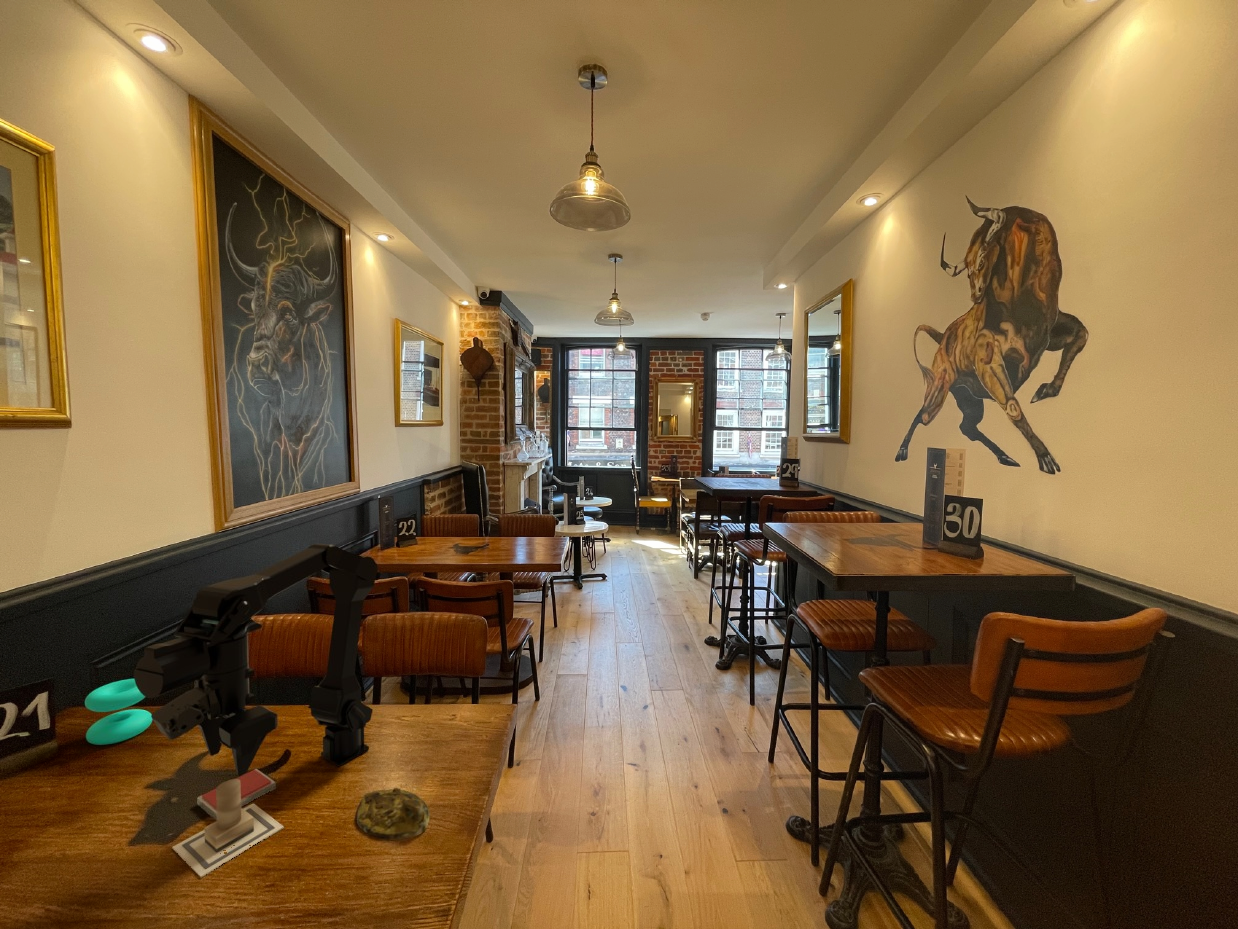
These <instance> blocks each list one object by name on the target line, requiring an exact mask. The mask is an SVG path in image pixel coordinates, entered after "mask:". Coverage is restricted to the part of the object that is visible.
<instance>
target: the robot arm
mask: <svg viewBox="0 0 1238 929" xmlns="http://www.w3.org/2000/svg"><path fill="white" fill-rule="evenodd" d="M320 571H322V572H324V573H326V574H328V575H329V578H328V580H329V582H328V583H329V588H330V590H331V593H332V595H333V598H334V599H335V603H334V604H335V605H334V610H333V611H334V612H333V613H334V614H333V620H332V627H331V637H330V643H329V651H328V658H327V666H326V672H325V673H326V674H325V676H324V678H323V679H322V680H321V681H320V682H319V684H318V685H314V686H313V687H312V688H311V690H310V695H311V696H310V701H309V705H308V709H310V715H311V717H313V718H314V719H315V720H316V722H317V724H318V725H319V726H324V736H323V737H322V752H320V756H321V757H322V758H323V759H325V760H327V761H328V762H330V763H333V765H335V766H337V767H340V766H342V765H344V764H346V763H348V762H349V761H352V759H354V758H355V759H356V757H359V756H361V755H362V754H364V753H365V752H367V751H368V750H370V746H369V745H368V744H365V727H366V726H367V723H369V722H371V720H372V719H371V718H372V714H373V712H374V711H373V708H371V707H369V706H368V705H366V704H364V703H362V687H361V686H360V683H359V681H358V678H357V676H356V673H355V671H356V665H357V657H358V649H359V642H360V641H359V640H360V633H361V626H362V617H363V609H364V601H365V599H366V598H367V597H368V595H369V594H370V592H371V591H372V590H373V589H374V586H375V582H376V578H377V573H378V563H377V562H376V561H375V559H374V558H373V557H372V556H365V555H359V554H356V553H353V552H351V551H347V550H345V549H343V548H340V547H339V546H338V545H336V544H331V543H330V544H329V543H319V542H317V543H316V542H315V543H313V544H311V545H309V546H308V547H307V548H306V549H304V550H302V551H299V552H297V553H296V554H293V555H291V556H289V557H287V558H285V559H283V560H281V561H279V562H277V563H275V564H272V565H270V566H269V567H266V568H264V569H262V570H260V571H258V572H256V573H254V574H253V573H252V574H250V575H247V576H242V577H236V578H231V579H226V580H223V581H220V582H215V583H213V584H210V585H206V586H205V587H203V588H202V589H200V590H199V591H198V592H197V593H196V597H195V598H194V600H193V603H192V605H191V607H190V608H189V610H188V612H187V613H186V615H185V616H184V617H183V618H182V620H181V622H180V623H179V625H178V627H177V628H176V630H175V631H174V633H173V636H174V637H176V638H174V639H171V640H168V641H166V642H162V643H155V644H152V645H150V646H149V645H148V646H146V647H145V648H144V656H142V657H141V658H140V659H139V660H138V662H137V663H136V665H135V666H136V667H135V669H134V670H133V679H134V680H135V683H136V686H137V688H138V690H139V691H140V692H141V693H142V694H143V695H144V696H145V698H147V699H154V698H157V697H159V696H162V695H164V694H166V693H169V692H171V691H174V690H177V689H178V688H181V687H183V686H186V685H188V684H191V683H192V682H194V687H193V688H192V689H191V690H186V691H185V692H184V693H182V694H181V695H179V696H178V697H176V698H174V699H172V700H171V701H169V702H167V703H166V704H164V705H162V706H161V707H160V708H158V709H156V710H155V711H153V713H151V717H152V722H153V723H154V724H155V725H156V727H157V729H158V730H159V732H160V733H161V734H162V735H164V736H165V737H166V738H167V739H168V740H169V741H172V740H176V739H178V738H180V737H181V736H183V735H184V734H186V733H188V732H190V731H191V730H192V729H194V728H195V727H198V729H199V731H200V733H201V736H202V738H203V741H204V743H205V745H206V748H207V751H208V754H209V756H211V757H213V756H215V755H218V754H219V753H220V751H221V748H222V745H224V746H225V747H226V748H227V749H231V753H232V757H233V763H234V768H235V772H236V775H237V777H240V776H242V775H244V774H247V773H248V771H249V768H250V766H251V765H252V763H253V760H254V759H255V757H256V755H257V753H258V751H259V749H260V747H261V745H262V744H263V742H264V740H265V739H266V737H267V735H268V734H270V733H272V732H273V731H274V730H276V729H277V728H278V726H279V725H278V724H279V723H278V720H279V719H278V718H279V717H278V713H276V712H274V711H272V710H270V709H269V708H267V707H265V706H263V705H261V704H259V705H256V706H254V707H251V708H249V709H248V708H246V705H249V704H251V703H255V702H256V695H255V694H253V693H252V692H250V678H252V677H253V678H254V677H255V669H253V668H252V667H250V665H249V663H250V662H249V634H250V633H253V632H254V631H255V632H256V631H258V630H261V629H262V627H263V625H262V623H259V622H258V621H255V620H254V619H253V617H254V616H255V615H257V614H258V613H259V612H261V611H262V610H263V609H264V607H265V606H266V604H267V602H268V601H269V600H271V598H273V597H274V596H276V595H278V594H280V593H281V592H283V591H285V590H287V589H289V588H292V587H293V586H295V585H297V584H299V583H301V582H302V581H304V580H305V579H308V578H309V577H312V576H313V575H315V574H317V573H319V572H320ZM203 623H207V624H213V625H216V626H215V627H211V626H204V625H202V624H203Z"/></svg>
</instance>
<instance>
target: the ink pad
mask: <svg viewBox="0 0 1238 929" xmlns="http://www.w3.org/2000/svg"><path fill="white" fill-rule="evenodd" d="M235 779H238V780H240V785H241V808H242V807H244V806H246V805H248V804H250V803H252V802H253V801H252V800H254V799H256V798H257V799H259V798H261V797H263V796H265V795H267V794H268V792H269V791H270V792H273V791H274V790H276V789H277V785H276V784H277V783H276V781H274V779H272V778H271V777H269V776H267V774H265V773H263V772H262V771H260V770H259V769H257V768H255V769H253V770H251V771H249V772H247V773H245V774H243V775H241V776H237V777H236V778H235ZM270 792H269V793H270ZM266 793H267V794H266ZM262 795H263V796H262ZM260 796H261V797H260ZM258 797H259V798H258ZM257 799H256V800H257ZM196 800H197V801H196V803H197V806H199V807H200V808H201V809H202V811H204V812H205V813H206V814H208V816H210V817H211V818H212V817H213V818H212V819H214V821H217V799H216V788H214V789H212V790H210V791H207V792H205V793H204V794H202V795H199V796H198V797H197V798H196ZM251 801H252V802H251ZM254 801H255V800H254ZM249 802H250V803H249Z"/></svg>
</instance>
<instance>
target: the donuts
mask: <svg viewBox="0 0 1238 929" xmlns="http://www.w3.org/2000/svg"><path fill="white" fill-rule="evenodd" d="M145 698H146V697H145V696H144V695H143V694H142V693H141V692H140V691H139V690H138V688H137V686H136V683H135V680H134V678H128V679H122V680H118V681H113V682H110V683H108V684H104V685H103V686H102V685H101V686H100V687H97V688H96V689H94V690H92V691H90V693H89V694H87V696H86V697H85V700H84V706H85V708H86V709H87V710H89V711H91V712H97V713H105V712H106V713H107V712H114V711H118V710H121V711H118V712H114V713H111V714H109V715H107V716H104V717H102V718H101V719H98V720H97V721H96V722H95V723H92V725H91V726H89V728H88V730H87V731H86V734H85V738H86V741H87V743H90V744H92V745H96V746H98V745H99V746H102V745H103V746H105V745H111V744H117V743H120V742H123V741H124V742H125V741H127V740H129V739H131V738H134V737H136V736H138V735H139V734H141V733H143V732H144V731H146V730H147V729H148V728H149V727H150V726H151V724H152V723H153V719H152V717H151V715H152V713H151V712H150V711H147V710H144V709H142V708H141V709H139V708H137V709H136V708H135V709H133V708H132V709H131V708H130V709H126V710H125V708H128V707H131V706H134V705H136V704H138V703H139V702H141V701H142V700H144V699H145ZM122 709H124V710H122Z"/></svg>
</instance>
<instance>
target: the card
mask: <svg viewBox="0 0 1238 929" xmlns="http://www.w3.org/2000/svg"><path fill="white" fill-rule="evenodd" d="M243 809H244V810H245V811H246V812H247V813H249V814H250V815H251V816H253V817H254V831H253V832H252V833H250V834H248V835H247V836H245V837H243V838H241V839H240V840H238V841H236V842H235V843H233V844H231V845H229V846H228V847H227V848H224V849H223V850H226V851H223V850H221V851H219V852H217V853H216V852H215V851H214V850H213V849H212V848H211V847H210V846H209V845H208V844H207V843H205V830H204V829H203V830H201V831H200V832H197V833H196V834H193V835H192V836H190V837H188V838H186V839H185V840H183V841H180V842H179V843H176V844H175V845H174V846H172V847H171V848H172V850H173V851H174V852H175V853H176V854H177V853H178V854H177V855H178V856H179V857H180V858H181V859H182V860H183V861H184V862H185V861H186V862H185V863H186V864H187V865H188V866H189V867H190V866H191V867H190V868H191V869H192V870H193V871H194V872H195V873H196V875H197V876H198V877H199V878H200V879H202V878H203V877H205V876H207V875H208V874H210V873H212V872H213V871H215V870H217V869H218V868H220V867H222V866H223V865H224V864H223V863H225V862H227V861H228V862H230V861H232V860H233V859H235V858H237V857H239V856H240V855H241V853H242V852H243V853H244V851H245V850H247V849H248V850H250V849H251V848H250V847H252V846H253V845H255V844H256V845H258V844H259V843H258V842H260V841H261V842H264V840H263V839H265V840H266V839H269V838H270V837H271V836H273V835H274V834H276V833H278V832H280V831H282V830H283V829H284V828H285V827H284V826H283V824H281V823H280V822H278V821H277V820H276V819H274V818H273V817H272V816H271V815H270V814H268V813H267V812H266V811H264V810H263V809H261V807H259V806H257V805H256V803H251V804H249V805H247V806H245V807H243ZM269 836H270V837H269ZM261 842H260V843H261ZM257 843H258V844H257ZM233 845H235V846H233ZM249 845H251V846H249ZM256 845H255V846H256ZM231 847H232V848H231ZM253 847H254V846H253ZM253 847H252V848H253ZM249 848H250V849H249ZM248 850H247V851H248ZM224 852H227V854H224ZM245 852H246V851H245ZM220 853H221V854H220ZM243 853H242V854H243ZM239 854H240V855H239ZM236 856H237V857H236ZM234 857H235V858H234ZM232 858H233V859H232ZM231 859H232V860H231ZM229 860H230V861H229ZM228 862H227V863H228ZM222 864H223V865H222ZM225 864H226V863H225ZM221 865H222V866H221ZM219 866H220V867H219ZM216 868H217V869H216ZM214 869H215V870H214ZM211 871H212V872H211ZM206 874H207V875H206Z"/></svg>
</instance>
